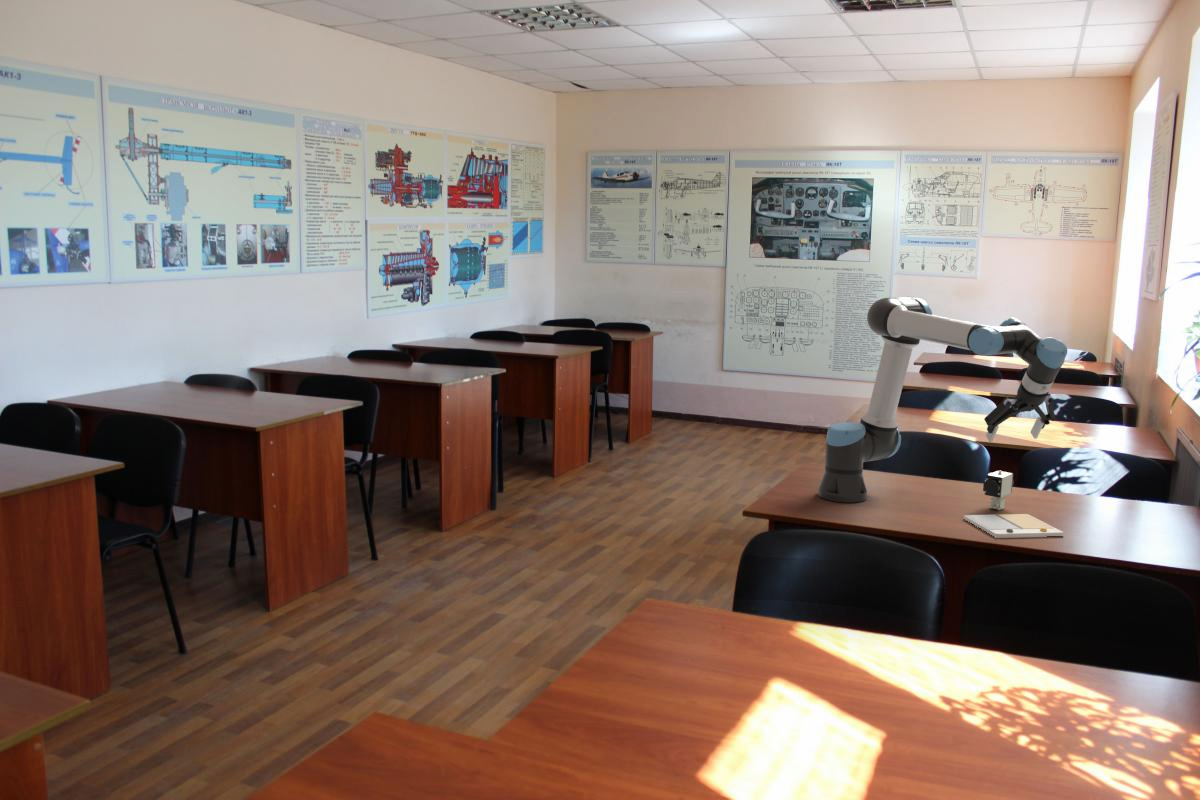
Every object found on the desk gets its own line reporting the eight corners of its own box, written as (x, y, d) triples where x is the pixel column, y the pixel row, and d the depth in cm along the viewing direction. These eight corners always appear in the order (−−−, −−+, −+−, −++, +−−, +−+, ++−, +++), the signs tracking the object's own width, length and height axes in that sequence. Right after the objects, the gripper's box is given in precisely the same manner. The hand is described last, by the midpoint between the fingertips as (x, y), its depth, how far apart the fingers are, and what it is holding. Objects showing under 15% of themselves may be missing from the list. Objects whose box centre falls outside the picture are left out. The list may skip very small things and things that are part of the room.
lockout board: (963, 519, 280) (964, 512, 280) (1027, 518, 283) (1028, 511, 282) (995, 538, 263) (996, 530, 262) (1063, 536, 265) (1064, 529, 265)
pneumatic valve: (1012, 506, 295) (1015, 468, 293) (996, 513, 287) (1000, 475, 285) (994, 503, 299) (997, 465, 297) (978, 510, 291) (981, 471, 289)
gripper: (997, 399, 260) (975, 449, 275) (1084, 392, 262) (1057, 443, 277) (986, 379, 265) (965, 430, 281) (1072, 373, 267) (1046, 424, 282)
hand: (1011, 437), depth 279 cm, fingers open, 13 cm apart
